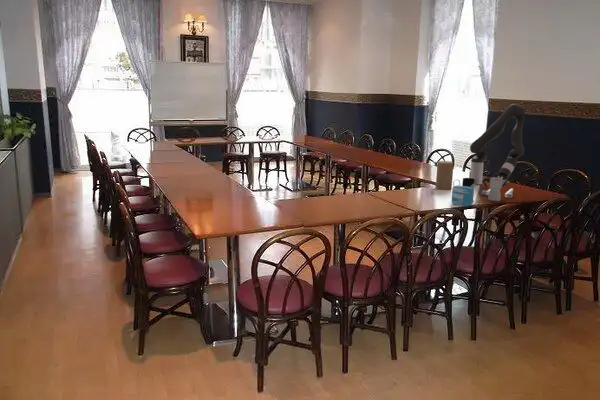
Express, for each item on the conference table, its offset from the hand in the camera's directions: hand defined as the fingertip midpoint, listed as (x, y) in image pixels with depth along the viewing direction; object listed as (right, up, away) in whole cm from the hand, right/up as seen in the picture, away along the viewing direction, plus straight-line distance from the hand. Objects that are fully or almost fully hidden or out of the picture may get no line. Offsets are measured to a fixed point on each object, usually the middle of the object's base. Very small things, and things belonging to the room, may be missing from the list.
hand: (494, 190), depth 335 cm
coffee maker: (-2, -7, -2) cm, 7 cm away
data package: (-28, -10, -18) cm, 35 cm away
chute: (+11, -2, +18) cm, 21 cm away
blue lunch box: (-23, -7, -5) cm, 25 cm away
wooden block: (-25, +2, +34) cm, 42 cm away
